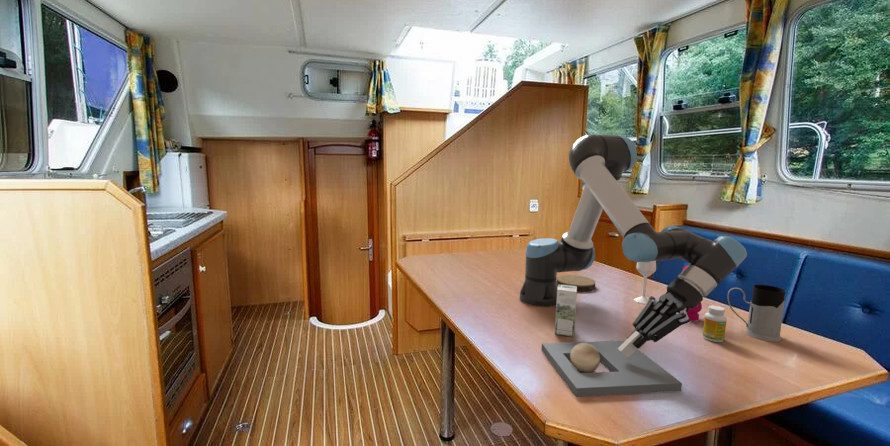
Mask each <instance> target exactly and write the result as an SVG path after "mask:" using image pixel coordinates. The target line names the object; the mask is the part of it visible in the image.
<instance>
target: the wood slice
mask: <svg viewBox="0 0 890 446" xmlns="http://www.w3.org/2000/svg"><path fill="white" fill-rule="evenodd" d="M556 283H557V286H558V285H568V286H577V293H580V292H581V293H585V292H587V293H588V292H592V291H595V289H596V280H594V279H593V278H591V277H588V276H583V275H577V274H564V275H558V276H557V277H556Z"/></svg>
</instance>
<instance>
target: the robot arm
mask: <svg viewBox="0 0 890 446" xmlns="http://www.w3.org/2000/svg"><path fill="white" fill-rule="evenodd" d="M637 154H638V153H637V148H636V145H635V143H634V142H633V140H631V139H630V138H629V137H627V136H623V135H618V134H614V135H612V134H611V135H609V134H594V133H593V134H592V133H591V134H590V133H589V134H586V135H582V136H581V137H579V138H578V139H576V140H575V141H574V142H573V144H572V145H571V147H570V149H569V152H568V163H569V166H570V168H571V170H572V173H573V174H574V176H575V177H576V178H577V179H578V180H581V181H583V182H584V183H585V184H584V187H583V190H582V192H581V196H580V199H579V201H578V204H577V207H576V210H575V212H574V215H573V218H572V221H571V224H570V226H569V229H568V231H566V232H563V234H562V237H561V239H560V241H558V240H557V239H556V238H550V237H546V238H545V237H544V238H536V239H533V240H530V241H528V243H526V249H525V273H524V275H525V276H524V281H523V283H522V285H521V289H520V291H519V301H521V303H522V302H523V303H524V304H527V305H531V306H534V307H547V308H548V307H554V306H556V303H557V288H558V286H557V277H558V275H557V274H558V273H565V272H580V271H584V270H587V269H589V268H590V267H591V266H592V265H593V263H595V259H596V253H595V252H596V248H595V247H594V242H593V241H592V237H593V236H594V233H595V231H596V228H597V225H598V223H599V220H600V218H601V215H602V213H603V211H604V212H605V214H606V215H607V217H608V218H609V219H610V221H611V222H612V223H613V225H614V227H615V228H616V230H617V231H618V232H619V234H620V235H621V236H622V237H623V240H622V243H621V248H622V250H623V251H622V253H623V255H624V257H625V258H626V259H628V260H629V261H631V262H635V263H637V262H651V261H656V262H657V261H667V260H678V259H679V260H682V261H685V262H686V263H688V265H689V266H688V265H687V266H688V267H687V268H686V269H685V270H684V271H683V272H682V271H681V272H680V273H679V274H678V275H677V278H675V279H673V280H672V281H671V282H670V283H669V284H668V285H667V286H666V292H665V293H663V294H662V295H660V297H654V296H653V295H651V296H649V297H648V299H649V300H648V303H647V304H645V306H644V307H643V308H642V309H641V311H640V312H639V314H638V315H637V317H636V318H635V320H633V322H632V326H633V327H634V331H633V332H631V333H630V334H629V336H627V337H626V341H625V342H624V343H623V344H622V345H621V346H620V347H619V348H618V349H619V350H620V352H621V353H622V354H623V355H624V356H626V357H627V358H628V357H629V356H630V355H631V354H632V353H633V352H634V351H635V350H636V349H639V350H640V348H641V347H643V346H644V345H645V343H647V342H649V341H651V342H654V343H657V342H658V341H660V340H662V339H664V338H665V337H666V336H668V335H669V334H670V333H672V332H674V331H675V330H677V329H678V328H679V327H681V326H683V325H686V324H689V323H691V322H692V321H691V320H690V318H689V317H688V316H687V312H688V311H689V308H690V309H693V308H695V307H696V306H697V305H698V304H699V303H700V302H701V303H702V301H704V300H703V299H704V298H707V296H708V295H709V294H710V293H711V292H713V291H714V290H715V288H717V286H719V285H720V283H721V282H723V281H724V280H725V279H726V278H727V277H728V276H729V275H730V274H731V273H732V272H734V271H735V269H738V267H739V265H741V263H742V262H743V261H744V260H745V259H746V258H747V256H748V253H747V249H746V248H745V246H743V244H742V243H740V242H739V241H738V240H737V239H734V238H732V237H731V236H728V235H720V236H718V237H717V238H714V240H711V239H708V238H705V237H702V235H701V236H700V235H699V234H696V233H694V232H691V231H689V230H688V229H685V228H684V227H679V226H676V225H668V226H667V227H665V228H663V229H661V231H656V230H655V228H654V227H653V226H652V225H651V223H650V222H649V221H648V220H647V218H646V217H645V216H644V215H643V213H642V212H641V211H640V209H639V208H638V207H637V205H636V204H635V202H634V201H633V200H632V199H631V197H630V196H629V195H628V193H627V192H626V190H624V188H623V187H622V186H621V185H620V184H619V181H620V180H621V179H622V176H623V172H627V171H629V170H631V169H632V168H633V167H634V165H635V164H636V161H637V157H638V155H637Z"/></svg>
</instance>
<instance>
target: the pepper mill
mask: <svg viewBox="0 0 890 446" xmlns="http://www.w3.org/2000/svg"><path fill="white" fill-rule="evenodd" d="M689 265H690V264H688V265H685V266H684V267H683V268H682V271H681V272H683V271H684V270H685V269H686V268H687V267H688V266H689ZM702 307H703V306H702V301H701V302H700V303H699V304H698V305H697V306H696V307H695V308H693V309H690V308H689V311H688V312H687V316H688V317H689V318H690V320H691V321H690V322H697V321H699V320H700V314H699V313H700V312H701V311H702V309H703V308H702Z"/></svg>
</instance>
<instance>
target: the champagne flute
mask: <svg viewBox="0 0 890 446" xmlns="http://www.w3.org/2000/svg"><path fill="white" fill-rule="evenodd" d="M635 268H636V270H637V272H638V273H639V274H640V275H641V276H642V277H643V279H642V290H641V291H642V292H641V296H638V297H635V298H634V299H633V301H634V302H636V303H638V302H639V304H643V305H644V304H645V305H646V304H647V303H648V300H649V297H647V296H646V293H647V285H648V284H647V283H648V277H650V276H651V275H653V274H654V273H655V272H656V271H657V261H651V262H636V267H635Z"/></svg>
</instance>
